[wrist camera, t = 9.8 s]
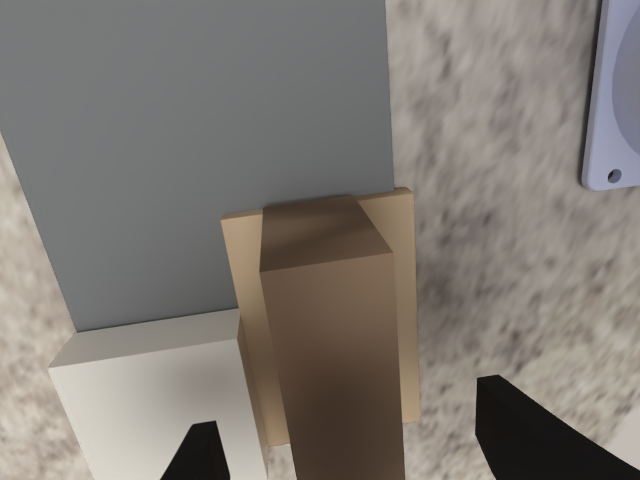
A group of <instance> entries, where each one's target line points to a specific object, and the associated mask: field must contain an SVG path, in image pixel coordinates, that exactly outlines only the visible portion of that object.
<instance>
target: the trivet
mask: <svg viewBox="0 0 640 480" xmlns="http://www.w3.org/2000/svg"><path fill="white" fill-rule="evenodd" d="M354 197H355V199H356V200H357V202H358V203H359V204H360V206H361V207H362V209H363V210H364V212H365V213H366V214H367V216H368V217H369V219H370V220H371V221H372V223H373V224H374V226H375V227H376V228H377V230H378V231H379V233H380V234H381V235H382V237H383V238H384V240H385V241H386V243H387V244H388V245H389V247H390V248H391V250H392V251H393V252H394V270H395V290H396V309H397V329H398V348H399V368H400V388H401V407H402V424H405V423H410V422H416V421H421V420H420V387H419V354H418V322H417V289H416V256H415V224H414V193H413V192H411V191H410V190H409V189H408V188H406V187H401V188H394V191H390V192H382V193H375V194H368V195H361V196H354ZM262 217H263V209H260V210H252V211H245V212H238V213H231V214H223V215H222V217H221V225H222V229H223V234H224V239H225V244H226V249H227V253H228V258H229V263H230V268H231V273H232V277H233V282H234V287H235V292H236V297H237V301H238V306H239V311H240V316H241V320H242V325H243V330H244V335H245V340H246V344H247V349H248V354H249V359H250V364H251V368H252V373H253V378H254V383H255V388H256V392H257V397H258V402H259V407H260V411H261V416H262V421H263V426H264V431H265V435H266V440H267V445H268V447H272V446H278V445H283V444H289V443H290V439H289V433H288V428H287V422H286V417H285V411H284V406H283V400H282V395H281V389H280V384H279V378H278V373H277V367H276V362H275V356H274V351H273V345H272V340H271V334H270V329H269V323H268V318H267V312H266V307H265V301H264V296H263V290H262V285H261V279H260V274H259V268H260V251H261V234H262Z"/></svg>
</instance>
